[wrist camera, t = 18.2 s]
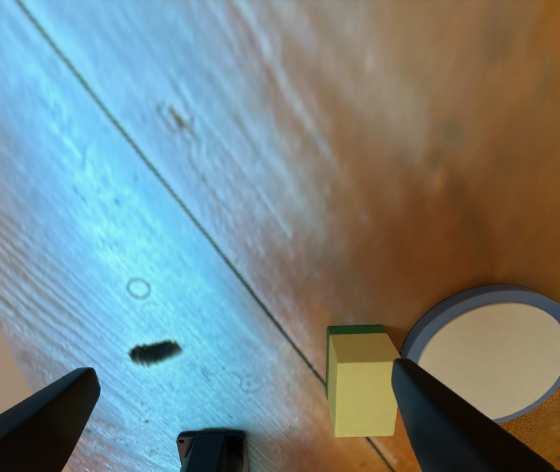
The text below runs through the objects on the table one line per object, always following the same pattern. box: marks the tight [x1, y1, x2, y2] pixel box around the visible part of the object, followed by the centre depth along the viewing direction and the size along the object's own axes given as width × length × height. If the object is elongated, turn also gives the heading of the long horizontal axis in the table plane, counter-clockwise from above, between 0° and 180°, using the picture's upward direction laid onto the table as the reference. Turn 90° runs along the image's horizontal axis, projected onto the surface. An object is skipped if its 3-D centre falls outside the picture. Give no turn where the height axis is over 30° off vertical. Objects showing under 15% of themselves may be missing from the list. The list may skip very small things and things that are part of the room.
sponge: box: [326, 325, 401, 437], centre depth 21 cm, size 7×4×4 cm, turn 2°
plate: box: [400, 284, 560, 424], centre depth 22 cm, size 14×14×1 cm
